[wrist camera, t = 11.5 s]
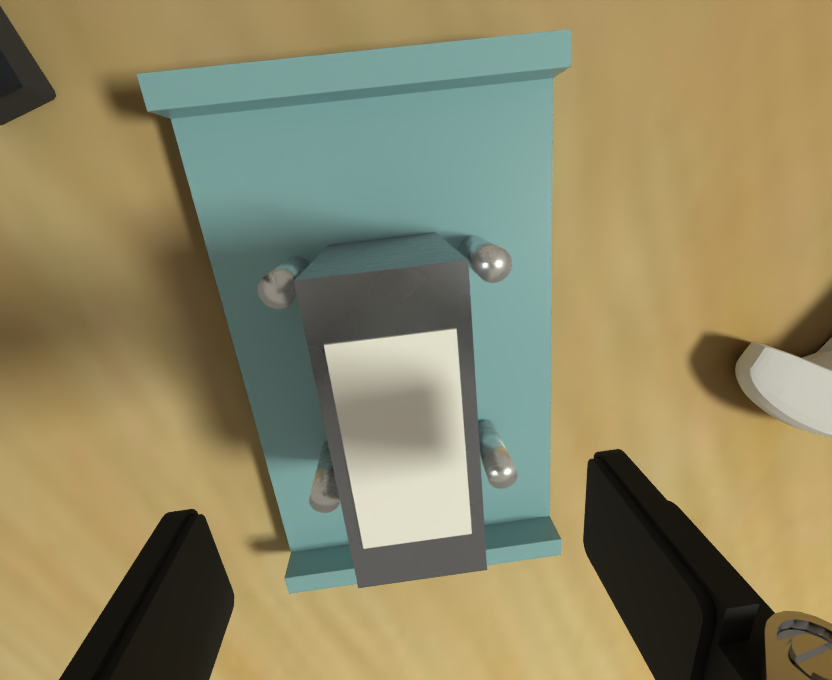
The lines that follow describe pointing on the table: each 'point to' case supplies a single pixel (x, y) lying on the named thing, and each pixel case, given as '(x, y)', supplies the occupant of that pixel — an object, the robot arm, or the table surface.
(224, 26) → the table surface
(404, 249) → the block
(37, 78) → the black stepped block
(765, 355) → the game controller
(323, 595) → the table surface
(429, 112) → the pin tray
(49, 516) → the table surface
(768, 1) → the table surface
